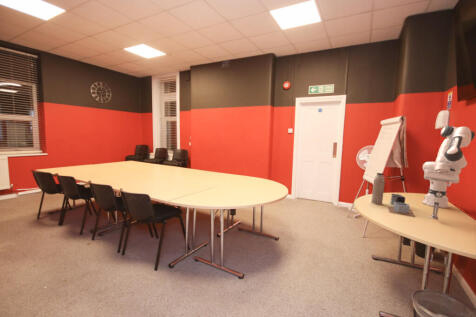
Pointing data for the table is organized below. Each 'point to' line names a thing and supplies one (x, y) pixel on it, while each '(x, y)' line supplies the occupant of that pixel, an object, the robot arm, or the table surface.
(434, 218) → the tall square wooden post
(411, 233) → the table surface
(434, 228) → the table surface
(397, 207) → the utensil crock
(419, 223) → the table surface
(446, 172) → the robot arm
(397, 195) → the small box
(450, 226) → the table surface
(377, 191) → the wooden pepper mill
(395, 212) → the serving board
